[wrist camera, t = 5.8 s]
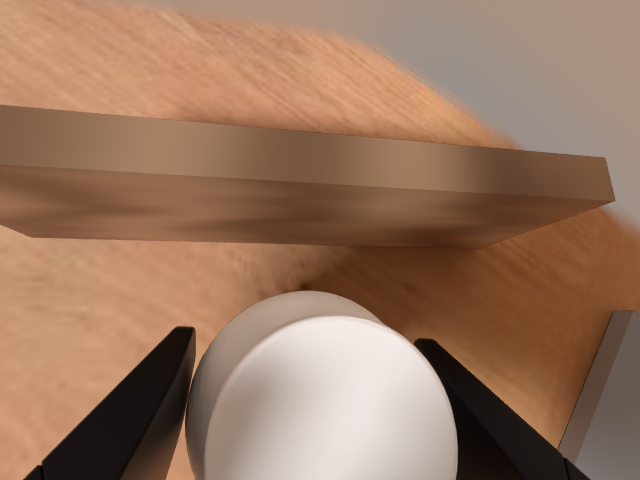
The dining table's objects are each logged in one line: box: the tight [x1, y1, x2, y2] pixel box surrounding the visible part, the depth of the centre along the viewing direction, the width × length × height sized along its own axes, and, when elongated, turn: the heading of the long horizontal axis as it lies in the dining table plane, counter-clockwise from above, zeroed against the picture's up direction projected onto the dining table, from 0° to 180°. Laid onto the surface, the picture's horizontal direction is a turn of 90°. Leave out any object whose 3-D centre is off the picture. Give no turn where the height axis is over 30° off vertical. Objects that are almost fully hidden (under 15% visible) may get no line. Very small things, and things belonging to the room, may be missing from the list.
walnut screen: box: [0, 105, 615, 249], centre depth 13 cm, size 20×2×7 cm, turn 91°
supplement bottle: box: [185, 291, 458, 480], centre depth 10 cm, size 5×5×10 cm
